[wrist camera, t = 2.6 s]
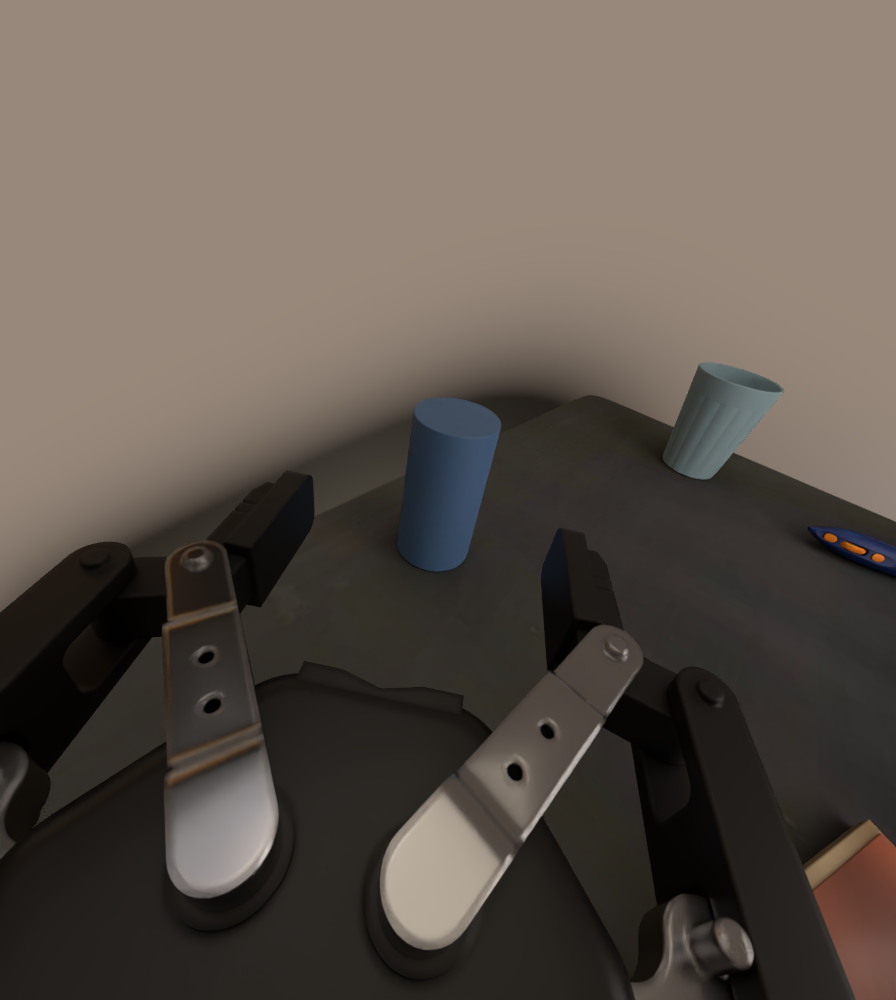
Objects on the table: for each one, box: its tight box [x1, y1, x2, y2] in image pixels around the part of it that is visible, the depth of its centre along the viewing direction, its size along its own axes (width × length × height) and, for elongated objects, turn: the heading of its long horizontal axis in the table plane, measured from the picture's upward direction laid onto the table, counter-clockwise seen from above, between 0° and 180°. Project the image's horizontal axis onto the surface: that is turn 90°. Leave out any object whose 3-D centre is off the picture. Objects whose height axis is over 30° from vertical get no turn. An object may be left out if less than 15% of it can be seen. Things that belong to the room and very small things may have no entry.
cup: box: [663, 363, 784, 479], centre depth 43 cm, size 8×8×10 cm
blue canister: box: [397, 398, 501, 572], centre depth 26 cm, size 5×5×10 cm
